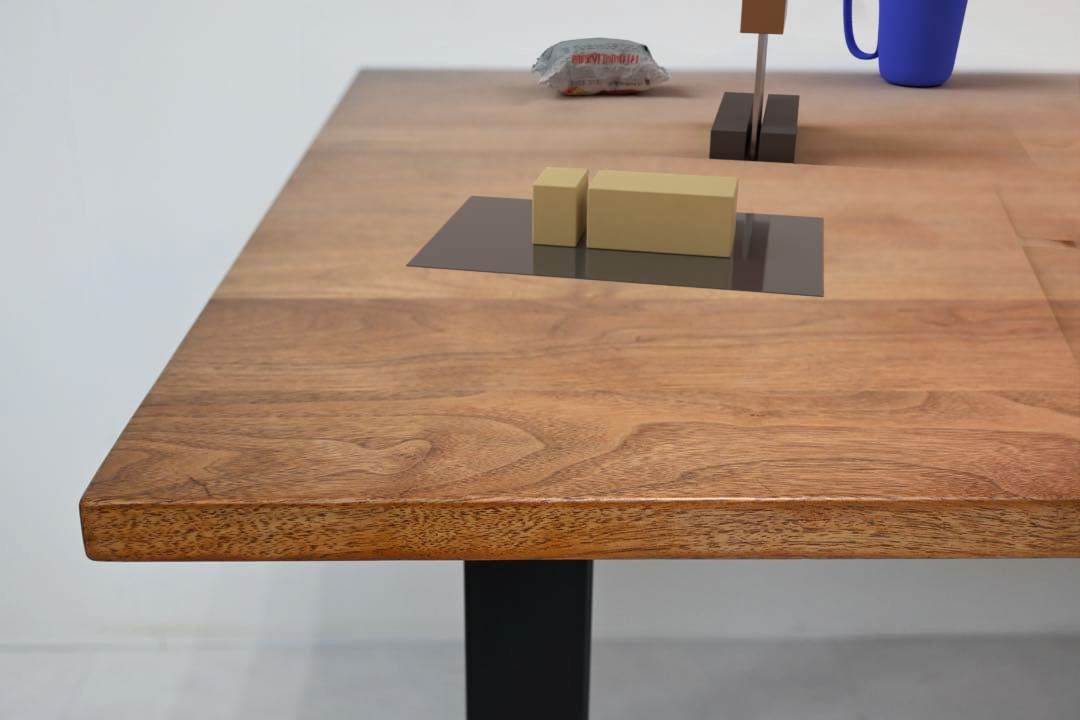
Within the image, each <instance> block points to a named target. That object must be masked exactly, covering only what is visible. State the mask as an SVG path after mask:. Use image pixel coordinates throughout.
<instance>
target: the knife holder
mask: <svg viewBox="0 0 1080 720" xmlns="http://www.w3.org/2000/svg"><path fill="white" fill-rule="evenodd" d="M800 99H801V98H800V94H781V93H780V94H779V93H768V94H767V98H766V103H765V104H766V105H765V107H764V108H765V109H764V112H763V117H762V123H761V132H760V137H759V142H758V147H757V152H756V157H755V160H750V146H751V132H752V118H753V104H754V92H736V91H734V92H733V91H724V92H723V95H722V98H721V102H720V104H719V106H718V109H717V112H716V115H715V118H714V121H713V123H712V126H711V129H710V138H709V151H708V153H709V154H708V159H709V160H722V161H740V162H756V163H757V162H758V163H759V162H760V163H775V164H778V163H779V164H792V165H793V164H795V156H796V155H795V154H796V145H797V132H798V122H799V121H798V120H799V111H800V110H799V108H800Z"/></svg>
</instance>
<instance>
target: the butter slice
mask: <svg viewBox="0 0 1080 720" xmlns="http://www.w3.org/2000/svg"><path fill="white" fill-rule="evenodd" d="M589 171H590V170H589V168H579V167H577V168H576V167H560V166H559V167H558V166H546V167H545V169H544V170H543V171H542V172H541V174H540V175H539V176H538V178H536V180H535V181H534V182H533V184H532V200H533V225H532V243H533V244H538V245H553V246H567V247H576V245H577V243H578V242H579V240H580V238H581V236H582V235H583V233H584V231H585V229H586V228H587V203H588V187H589V175H590V173H589Z"/></svg>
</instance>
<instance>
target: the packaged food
mask: <svg viewBox="0 0 1080 720" xmlns="http://www.w3.org/2000/svg"><path fill="white" fill-rule="evenodd" d="M530 71H531V74H533V75H534V74H535V73H539V74H540V75H541V77H540V79H539V80H538V82H537V86H543V85H547V84H550V85H551V86H552V87H553V88H554V89H555V90H556V91H558V92H560V93H561V94H565V95H568V96H598V95H606V96H607V95H608V96H621V95H631V94H635V93H641V92H644V91H647V90H651V89H652V88H653V87H654V86H657V85H662V83H666V82H669V80H670V79H671V78H672V76H673V75H672V74H673V71H672V69H670V68H666V67H664V66H660V65H659V64H658V63H657V61H656V60H655V59H654V58H653V55H652V52H651V50H650V49H649V47H648V46H647V45H646V44H644V43H640V42H638V41H637V42H636V41H633V40H629V39H623V38H622V39H621V38H610V37H589V38H576V39H567V40H561V41H559V42H557V43H555V44H553V45H551V46H549V47H548V48H546V49H545V50H544V51H543V52H542V53H541V54H540V56H539V57H537V58H536V63H534V64H533V65H532V67H531V68H530Z"/></svg>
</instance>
